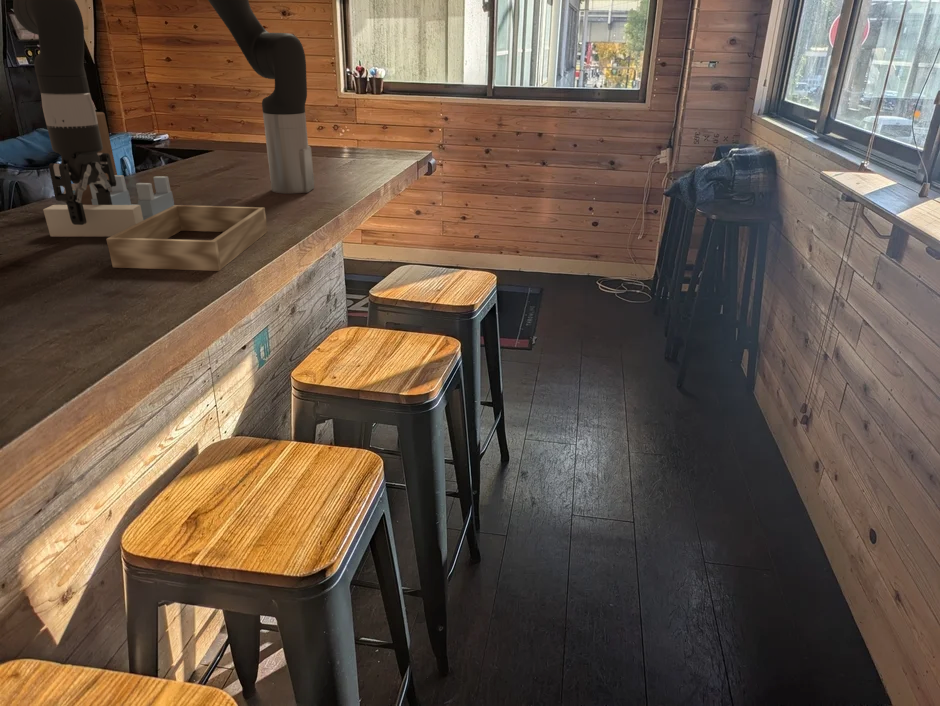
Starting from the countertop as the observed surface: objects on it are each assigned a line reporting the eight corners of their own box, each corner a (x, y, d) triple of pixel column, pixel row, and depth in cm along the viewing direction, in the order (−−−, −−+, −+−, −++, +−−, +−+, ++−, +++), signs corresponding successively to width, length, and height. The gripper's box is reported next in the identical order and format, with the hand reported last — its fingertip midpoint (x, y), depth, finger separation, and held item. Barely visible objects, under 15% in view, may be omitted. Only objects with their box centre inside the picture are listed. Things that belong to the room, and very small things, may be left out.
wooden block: (99, 209, 133) (78, 116, 125) (78, 208, 133) (55, 115, 125) (123, 199, 141) (104, 111, 133) (103, 199, 141) (83, 111, 133)
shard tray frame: (267, 231, 119) (264, 207, 117) (219, 270, 99) (214, 242, 97) (179, 229, 120) (174, 205, 118) (112, 267, 100) (106, 238, 98)
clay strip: (145, 232, 119) (140, 204, 117) (138, 237, 116) (132, 209, 113) (60, 232, 118) (53, 204, 115) (50, 237, 114) (43, 209, 112)
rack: (187, 210, 133) (181, 175, 130) (164, 222, 124) (157, 185, 121) (111, 208, 133) (103, 173, 130) (82, 220, 124) (73, 183, 121)
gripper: (68, 127, 102) (91, 229, 109) (117, 118, 115) (135, 210, 121) (21, 126, 102) (47, 227, 109) (75, 117, 115) (96, 209, 122)
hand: (93, 218), depth 115 cm, fingers open, 8 cm apart
